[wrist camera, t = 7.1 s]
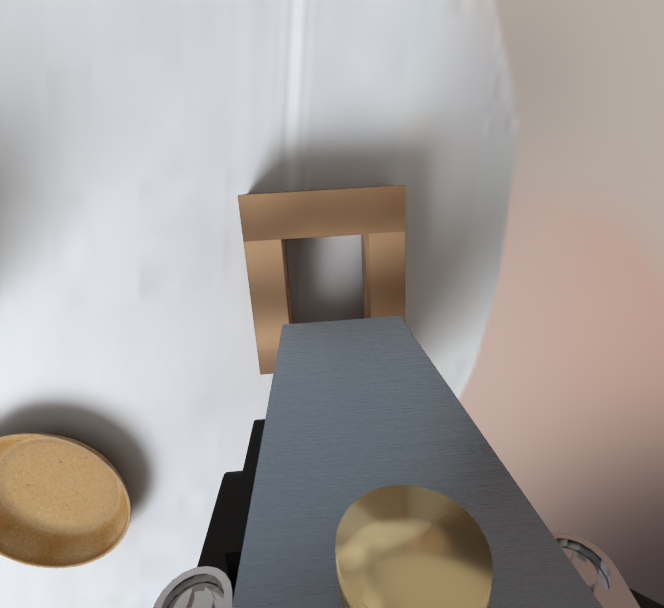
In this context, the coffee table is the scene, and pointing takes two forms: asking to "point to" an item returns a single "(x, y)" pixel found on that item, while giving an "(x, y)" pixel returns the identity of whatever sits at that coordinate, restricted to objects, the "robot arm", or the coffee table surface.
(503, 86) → the coffee table surface
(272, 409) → the grey box with cap
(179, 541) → the coffee table surface
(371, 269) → the wooden square frame
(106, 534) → the plant saucer
